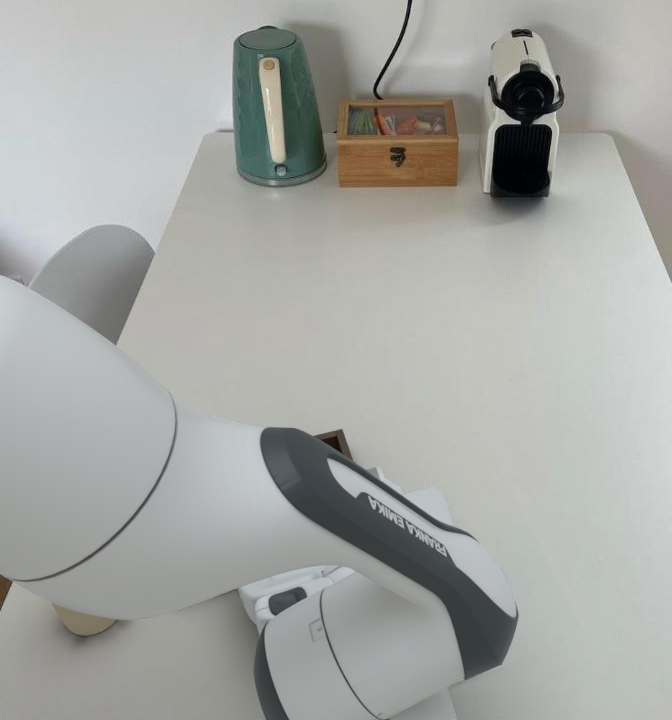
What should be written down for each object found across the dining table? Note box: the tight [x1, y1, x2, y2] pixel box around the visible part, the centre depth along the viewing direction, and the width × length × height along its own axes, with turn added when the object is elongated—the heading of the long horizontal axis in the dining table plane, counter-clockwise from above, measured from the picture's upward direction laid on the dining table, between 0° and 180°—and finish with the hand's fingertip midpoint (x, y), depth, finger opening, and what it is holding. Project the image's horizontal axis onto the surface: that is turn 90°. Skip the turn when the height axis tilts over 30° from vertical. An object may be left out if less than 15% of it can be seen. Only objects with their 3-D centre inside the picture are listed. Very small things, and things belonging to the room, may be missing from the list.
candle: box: [50, 602, 118, 637], centre depth 72 cm, size 6×6×10 cm
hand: (325, 484), depth 78 cm, fingers open, 8 cm apart
